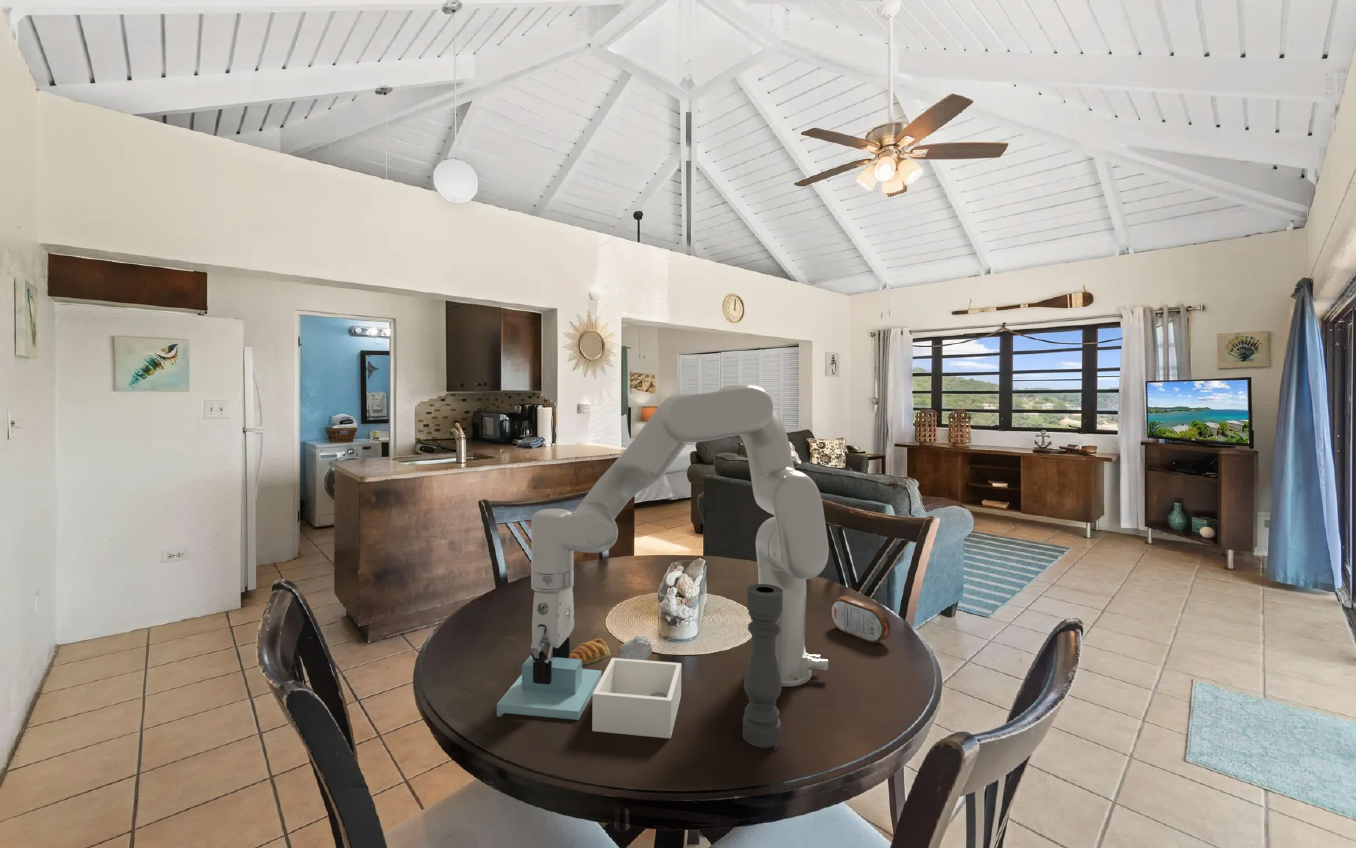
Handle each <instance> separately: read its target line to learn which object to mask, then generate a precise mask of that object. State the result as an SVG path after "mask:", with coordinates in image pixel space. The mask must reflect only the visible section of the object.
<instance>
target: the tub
mask: <svg viewBox="0 0 1356 848" xmlns="http://www.w3.org/2000/svg"><path fill="white" fill-rule="evenodd" d="M656 692H660V693H664V694H665V695H666V696H667V698H665V697H654V696H650V695H651V694H653V693H656ZM681 698H682V663H681V662H671V661H658V660H656V661H655V660H648V659H647V660H634V659H621V657H619V658H618V657H611V659H610V661H609V663H608V665H607V666H606V668H605V670H604V672H603V674H602V675H601V679H600V681H599V683H598V685H597V687H596V688H595V690H594V692H593V694H592V705H591V706H592V711H591V712H592V713H591V714H592V715H591V716H592V720H591V721H592V723H591V724H592V726H591V729H592V732H598V733H599V732H600V733H610V734H620V735H630V736H631V735H632V736H640V737H641V736H642V737H652V738H662V739H669V740H670V739H671V738H672V734H673V730H674V727H675V721H676V717H677V714H678V709H679V706H680V703H681Z"/></svg>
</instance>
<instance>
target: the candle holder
mask: <svg viewBox="0 0 1356 848" xmlns="http://www.w3.org/2000/svg"><path fill="white" fill-rule="evenodd" d="M746 592H747V594H746V595H747V597H746V609H747V611H748V616H750V617H749V618H750V620H751V622H750V623H748V624H747V631H748V632H749V633H750V634H751V652H750V656H749V660H748V664H747V668H746V671H745V675H744V680H743V687H744V688H743V689H744V691H745V694H746V696H748V703H747V705H746V706H745V707H744V716H743V717H742V736H741V737H742V738H743V740H744V741H745V743H748V744H749V745H751V746H753V747H757V748H764V749H766V748H772V747H774V751H776V750H778V749H779V747H780V746H781V735H782V734H781V731H782V730H781V729H782V724H781V718H780V710H779V709H778V707H777V705H776V703H777V699H778V698H779V697H780V695H781V693H782V684H781V678H780V673H779V669H778V664H777V659H776V654H775V647H776V636H777V635H778V634H779V633H780V626H779V625H778V624H777V623H776V622H777V621H778V618H779V617H780V613H781V612H782V598H783V590H782V589H781V588H780V587H777V586H774V585H769V584H759V583H754V584H751V585H749V586H747V591H746Z"/></svg>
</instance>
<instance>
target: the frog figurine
mask: <svg viewBox="0 0 1356 848" xmlns="http://www.w3.org/2000/svg"><path fill="white" fill-rule="evenodd" d="M653 646H654V644H653V643H652V642H651V641H650V640H649V638H648V636H646V635H642V636H641V635H636V636H635V637H634V638H632V639H630V640H628V641H626V642H624V643H622V645H621V646H620V647H619V650H620V655H619V656H620V658H621V659H634V660H647V661H648V658H649V657H650V656H651V654H652V653H653V651H654V650H653V649H654V648H653Z"/></svg>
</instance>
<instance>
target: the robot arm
mask: <svg viewBox="0 0 1356 848" xmlns="http://www.w3.org/2000/svg"><path fill="white" fill-rule="evenodd" d="M735 436H740V438H741V440H742V442H743V444H744V448H745V451H746V455H747V459H748V460H747V461H748V466H749V472H750V479H751V485H752V493H753V497H754V500H755V503H756V505H757V506H758V507H760V508H761V509H762V510H764V511H765V512H767V513H768V514H771V515H772V517H770V518H768V519H766V520H765V521H764V522H762V524H761V525H760V526H759V527H758V529H757V533H756V536H755V553H756V562H757V569H758V570H757V573H758V574H757V575H758V584H769V585H774V586H777V587H780V588H781V589H782V590H783V598H782V612H781V613H780V617H779V618H778V621H777V622H776V623H777V624H778V625H779V626H780V633H779V634H778V635H777V636H776V647H775V654H776V659H777V664H778V669H779V673H780V678H781V684H782V687H785V688H786V687H787V688H788V687H796V686H797V687H798V686H801V685H804V684H806V683H807V682H808V681H810V680H811V678H812V672H813V671H812V670H813V669H818V670H824V671H825V670H826V671H827V670H829V660H828V659H827V658H826V659H825V658H821V654H815V653H814V654H809V652H807V651H806V646H805V643H806V642H805V641H806V640H805V639H806V637H805V636H806V608H807V607H806V603H807V580H812V579H814V578H817V577H818V576H819V575H820V574H821V573H822V572H823V571H824V570H825V568H826V566H827V564H828V560H829V554H830V553H829V551H830V550H829V549H830V548H829V539H828V532H827V525H826V519H825V511H824V504H823V499H822V496H821V492H820V490H819V488H818V486H817V484H816V482H815V481H814V480H813V478H811V477H810V476H809V475H807V474H806V473H803V472H802V471H800V470H797V469H796V468H795V466H794V461H793V456H792V451H791V447H790V442H789V437H788V434H787V431H786V427H785V426H784V423H783V421H782V420H781V418H780V417H779V415H778V414H777V413H776V412H775V411H774V403H773V399H772V397H771V395H769V393H768V391H766V390H765V389H763V388H762V387H760V386H758V385H753V384H752V385H751V384H732V385H726V386H723V387H721V388H720V389H718V390H717V391H709V392H704V393H703V392H702V393H694V394H693V393H692V394H674V395H671V396H669V397H667V398H666V399H665V400H664V401H662V402H661V404H660V405H659V406H658V407H657V408H656V410H655V411H654V413H653V414H652V415H651V416H650V417H649V419H648V420H647V422H646V423H645V424H644V425H643V427H642V429H641V430H639V432H638V434H636V436H635V438H634V439H633V440H632V441H631V443H629V445H628V446H627V447H626V449H625V450H624V452H623V453H622V454H621V455H620V456H619V457H618V458H617V459H616V460H615V461H614V462H613V463H612V465H611V466H610V467H608V469H607V470H606V471H605V472H604V473H603V474H602V475H601V476H600V478H599V479H597V482H595V484H594V485H593V486H592V487H591V489H590V490H589V492H588V493H587V494H586V496H584V498H583V499H582V501H581V502H580V503H579V505H578V506H577V508H576V509H575V511H574V514H573V513H572V512H571V511H570V510H568V509H564V508H545V509H540V510H537V511H536V512H534V513H533V515H532V517H531V525H530V526H531V527H530V528H531V530H530V531H531V534H530V535H531V536H530V537H531V539H530V540H531V542H530V543H531V545H530V547H531V554H530V555H531V560H530V561H531V562H530V563H531V566H530V567H531V568H530V569H531V571H530V572H531V575H530V576H531V579H530V580H531V581H530V582H531V583H530V585H531V587H530V588H531V589H532V590H533V591H534V592H533V594H534V595H533V604H532V616H531V617H532V618H531V638H532V639H531V640H532V641H531V642H532V643H531V645H530V651H531V655H532V662H533V682H534V683H537V684H550V683H551V682H552V661H550V657H557V658H569V656H570V652H571V649H570V646H571V645H570V643H571V642H570V641H571V640H570V635H571V633H572V632H573V631H574V628H575V609H574V607H575V606H574V592H573V587H574V584H575V583H574V582H575V581H574V577H575V576H574V575H575V572H574V570H575V569H574V567H575V566H574V565H575V564H574V562H575V561H574V557H575V555H574V554H575V552H578V553H579V552H582V553H590V554H598V553H600V554H601V553H605V552H606V551H608V550H609V549H611V548H612V547H614V545H615V544H616V542H617V540H618V536H619V528H618V525H617V522H616V521H615V520H616V518H617V516H618V515H619V514H620V513H621V511H623V509H624V508H625V506H626V505H627V504H628V503H629V501H631V500H632V499H633V497H635V496H636V495H637V494H638V493H640V492H641V491H643V490H645V489H647V488H650V487H651V486H652V487H653V485H655V484H657V483H658V482H659V481H660V480H662V478H663V477H664V475H665V474H666V472H667V471H668V470H669V469H670V467H671V466H672V464H673V463H674V462H675V460H676V459H677V458H678V456H680V454H681V452H682V451H683V450H684V449H685V447H686V446H687V444H688V443H699V442H707V441H714V440H720V439H725V438H728V437H735ZM542 649H546V651H545V652H544V651H543V650H542ZM551 655H552V656H551Z"/></svg>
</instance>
